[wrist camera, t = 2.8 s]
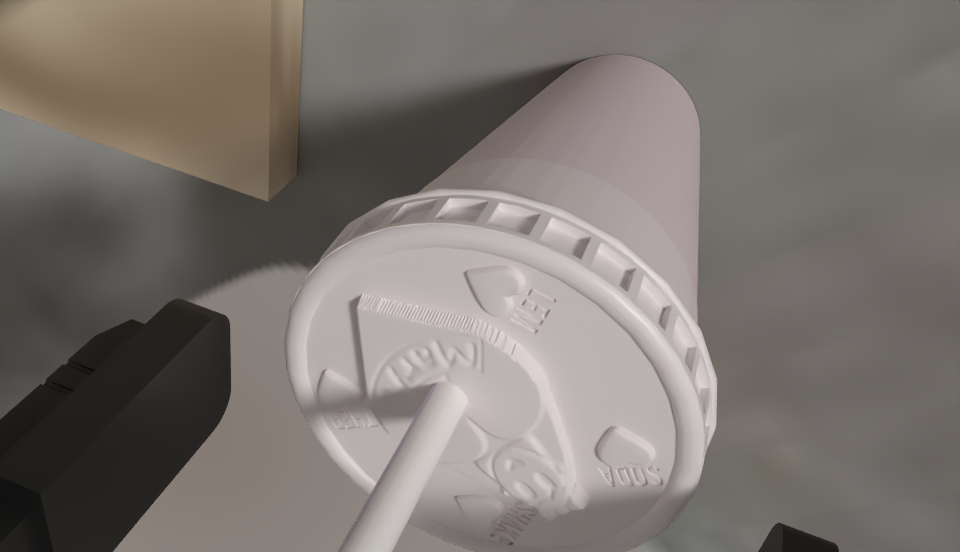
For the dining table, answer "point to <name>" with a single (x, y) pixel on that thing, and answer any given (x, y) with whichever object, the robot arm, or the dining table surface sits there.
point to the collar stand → (164, 81)
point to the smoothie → (523, 330)
